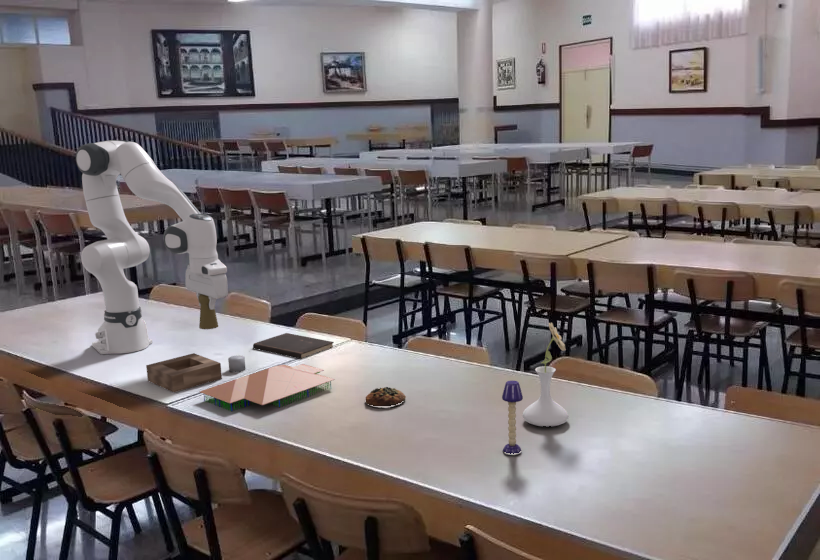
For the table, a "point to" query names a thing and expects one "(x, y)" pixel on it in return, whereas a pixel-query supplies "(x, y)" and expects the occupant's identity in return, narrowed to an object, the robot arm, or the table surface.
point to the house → (268, 385)
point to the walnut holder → (184, 372)
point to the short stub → (236, 363)
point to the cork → (207, 314)
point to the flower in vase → (546, 394)
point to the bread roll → (385, 397)
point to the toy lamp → (512, 413)
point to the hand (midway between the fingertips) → (207, 307)
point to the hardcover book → (293, 345)
